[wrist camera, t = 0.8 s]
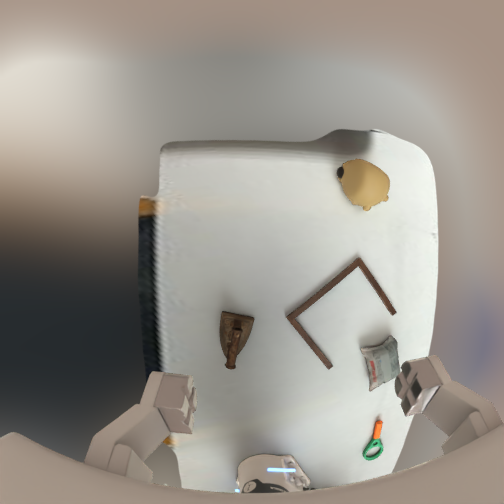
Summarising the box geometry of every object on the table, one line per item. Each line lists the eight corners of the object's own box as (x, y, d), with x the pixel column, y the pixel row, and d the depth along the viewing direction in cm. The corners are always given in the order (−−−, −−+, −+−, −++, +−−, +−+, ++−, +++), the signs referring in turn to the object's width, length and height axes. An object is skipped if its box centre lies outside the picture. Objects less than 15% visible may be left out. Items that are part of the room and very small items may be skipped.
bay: (394, 311, 58) (396, 312, 57) (327, 368, 58) (328, 369, 57) (358, 257, 58) (359, 257, 57) (286, 316, 59) (286, 318, 58)
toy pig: (366, 182, 62) (362, 142, 55) (398, 206, 53) (398, 162, 46) (333, 196, 62) (325, 156, 54) (362, 224, 53) (359, 179, 46)
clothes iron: (254, 313, 59) (257, 337, 49) (245, 355, 62) (245, 382, 52) (222, 308, 59) (219, 331, 49) (215, 350, 61) (211, 377, 52)
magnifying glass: (379, 455, 58) (381, 458, 56) (361, 460, 58) (362, 463, 56) (387, 417, 58) (390, 420, 56) (367, 422, 58) (369, 425, 56)
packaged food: (365, 386, 58) (372, 395, 53) (358, 345, 58) (365, 352, 53) (396, 373, 58) (404, 380, 53) (390, 332, 58) (399, 337, 53)
